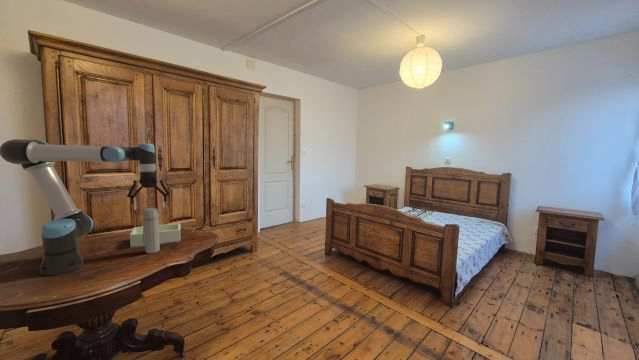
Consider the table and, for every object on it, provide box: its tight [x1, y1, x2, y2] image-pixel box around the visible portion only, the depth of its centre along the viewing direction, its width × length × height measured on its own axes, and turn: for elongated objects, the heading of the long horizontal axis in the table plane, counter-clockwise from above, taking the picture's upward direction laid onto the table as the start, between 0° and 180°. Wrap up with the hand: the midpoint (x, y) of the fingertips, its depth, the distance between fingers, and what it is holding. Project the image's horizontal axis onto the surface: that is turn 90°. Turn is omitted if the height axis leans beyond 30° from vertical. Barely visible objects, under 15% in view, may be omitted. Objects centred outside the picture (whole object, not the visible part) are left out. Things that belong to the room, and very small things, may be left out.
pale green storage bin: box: [129, 222, 182, 249], centre depth 169 cm, size 26×16×8 cm, turn 118°
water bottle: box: [141, 207, 161, 254], centre depth 151 cm, size 9×8×25 cm
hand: (149, 208), depth 149 cm, fingers open, 13 cm apart
